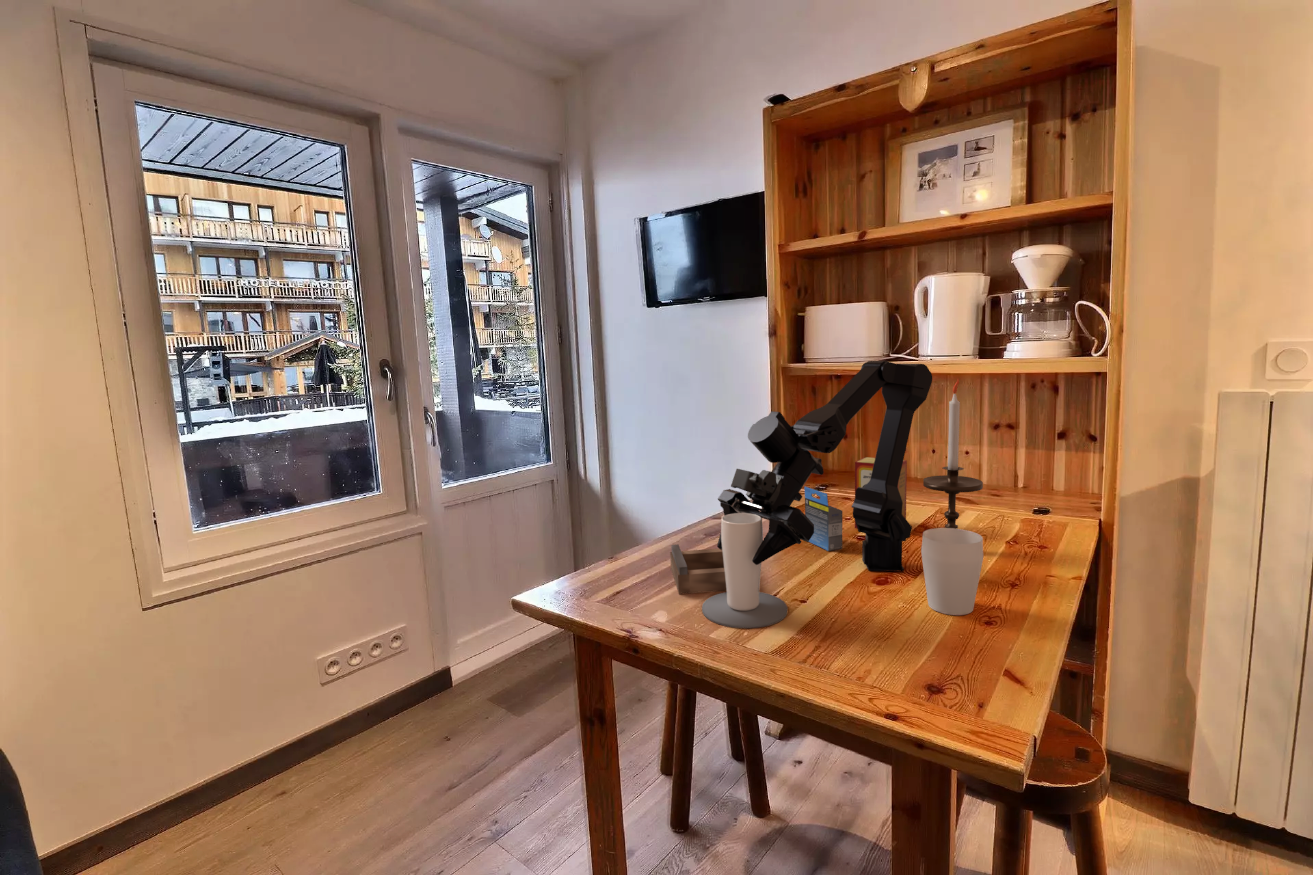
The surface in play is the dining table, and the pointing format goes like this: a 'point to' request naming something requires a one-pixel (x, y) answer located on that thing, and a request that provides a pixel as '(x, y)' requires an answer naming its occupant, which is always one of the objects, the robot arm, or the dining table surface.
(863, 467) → the baking soda box
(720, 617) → the slate mat
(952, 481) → the candlestick
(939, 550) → the cup
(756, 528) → the drinking glass
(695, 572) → the wooden holder tray
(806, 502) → the blue hang tab box
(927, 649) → the dining table surface
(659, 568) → the dining table surface
